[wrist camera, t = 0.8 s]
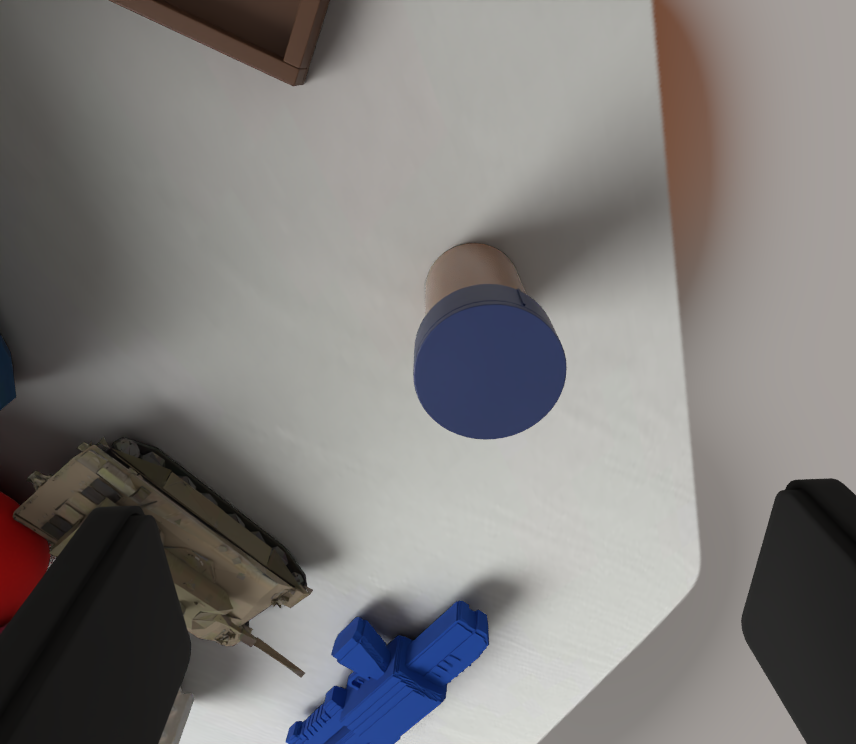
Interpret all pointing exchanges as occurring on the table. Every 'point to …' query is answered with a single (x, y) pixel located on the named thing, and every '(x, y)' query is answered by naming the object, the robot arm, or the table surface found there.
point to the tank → (175, 536)
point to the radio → (6, 375)
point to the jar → (469, 271)
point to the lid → (488, 362)
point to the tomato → (18, 560)
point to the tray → (246, 29)
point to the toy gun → (393, 679)
